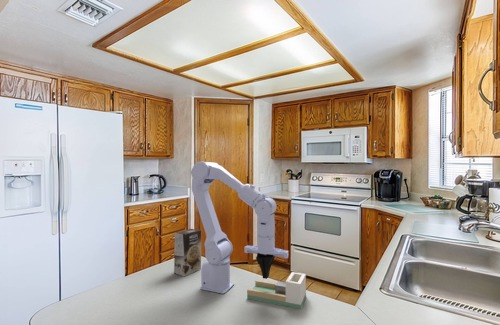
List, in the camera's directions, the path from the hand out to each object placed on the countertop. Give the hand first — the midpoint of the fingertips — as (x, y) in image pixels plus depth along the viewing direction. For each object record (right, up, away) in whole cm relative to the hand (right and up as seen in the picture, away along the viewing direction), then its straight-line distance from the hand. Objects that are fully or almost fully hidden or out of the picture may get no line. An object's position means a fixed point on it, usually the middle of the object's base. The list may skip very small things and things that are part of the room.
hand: (265, 277), depth 85 cm
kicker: (+5, -4, -2) cm, 7 cm away
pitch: (+3, -6, -2) cm, 7 cm away
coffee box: (-30, -7, +21) cm, 37 cm away
